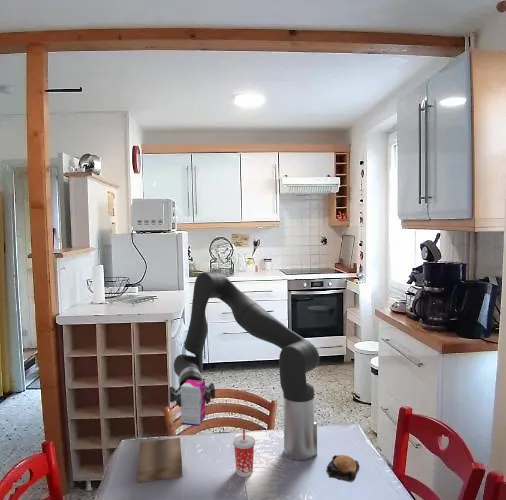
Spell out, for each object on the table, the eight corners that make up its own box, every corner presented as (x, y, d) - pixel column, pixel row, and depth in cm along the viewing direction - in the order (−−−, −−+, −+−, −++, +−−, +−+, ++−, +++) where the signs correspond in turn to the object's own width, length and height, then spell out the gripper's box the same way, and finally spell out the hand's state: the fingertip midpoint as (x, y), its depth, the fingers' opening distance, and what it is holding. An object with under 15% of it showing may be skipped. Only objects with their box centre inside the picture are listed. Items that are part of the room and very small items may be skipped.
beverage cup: (251, 480, 112) (250, 429, 111) (230, 476, 114) (229, 426, 113) (258, 467, 118) (257, 419, 117) (238, 464, 120) (237, 416, 119)
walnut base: (180, 446, 130) (180, 437, 130) (182, 476, 114) (182, 465, 114) (140, 451, 127) (140, 442, 127) (137, 482, 112) (136, 471, 112)
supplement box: (199, 426, 119) (198, 387, 119) (180, 424, 121) (179, 386, 120) (206, 417, 125) (205, 380, 124) (187, 415, 126) (186, 378, 126)
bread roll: (331, 458, 123) (331, 446, 123) (361, 464, 120) (360, 451, 120) (324, 478, 113) (323, 465, 113) (355, 484, 110) (355, 471, 110)
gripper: (168, 372, 135) (168, 392, 119) (212, 368, 138) (218, 387, 122) (168, 394, 135) (168, 417, 119) (212, 390, 138) (218, 412, 122)
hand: (193, 402), depth 120 cm, fingers closed on supplement box, 7 cm apart
